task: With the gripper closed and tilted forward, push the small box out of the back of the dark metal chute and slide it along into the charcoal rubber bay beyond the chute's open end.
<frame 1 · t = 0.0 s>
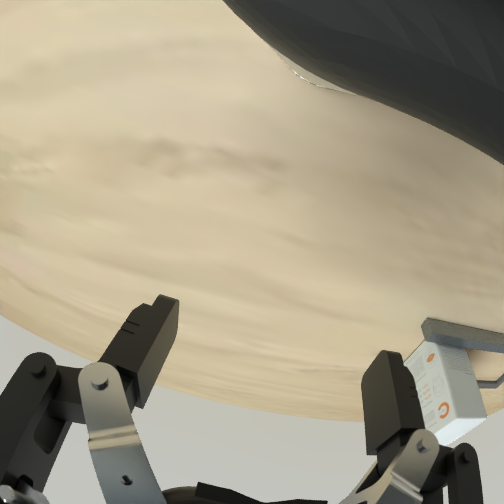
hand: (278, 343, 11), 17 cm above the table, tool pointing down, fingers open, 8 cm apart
small box: (430, 352, 34), on the table
chute: (450, 356, 34), on the table
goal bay: (501, 362, 33), on the table
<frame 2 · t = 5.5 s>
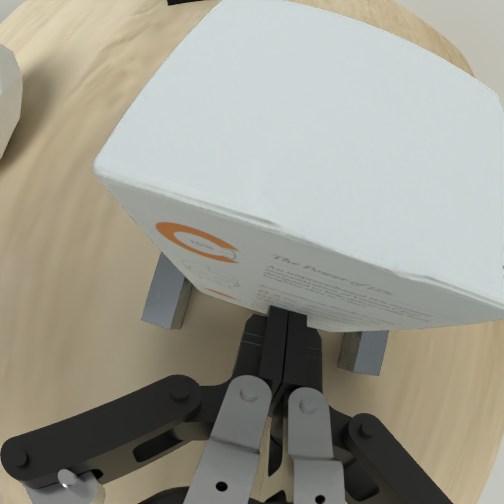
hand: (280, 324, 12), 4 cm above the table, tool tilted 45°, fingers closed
small box: (282, 261, 17), on the table, touching gripper
chute: (295, 201, 18), on the table
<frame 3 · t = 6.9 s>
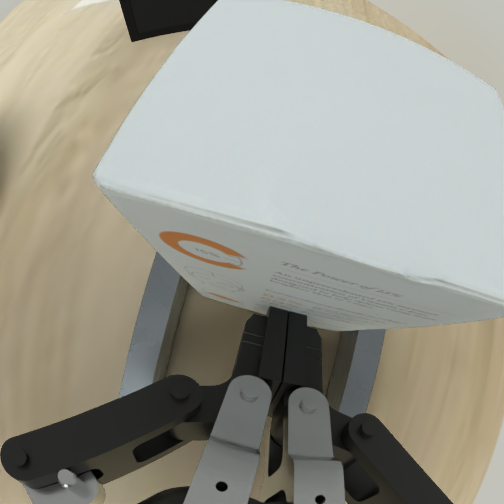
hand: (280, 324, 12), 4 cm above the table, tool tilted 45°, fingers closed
small box: (282, 262, 17), on the table, touching gripper
digital camera: (183, 21, 23), on the table
chute: (260, 332, 16), on the table
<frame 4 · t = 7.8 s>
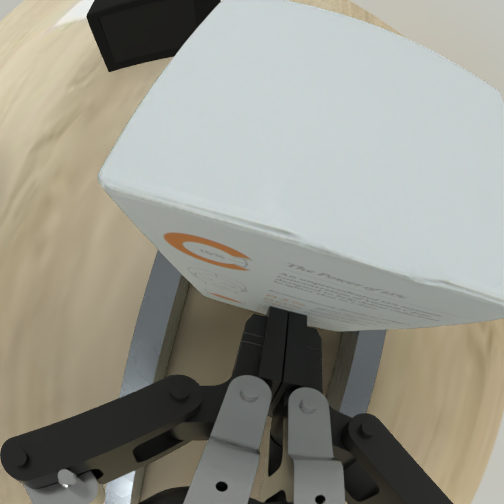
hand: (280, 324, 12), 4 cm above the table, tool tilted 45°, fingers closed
small box: (284, 262, 17), on the table, touching gripper
digital camera: (165, 44, 22), on the table
chute: (240, 412, 15), on the table
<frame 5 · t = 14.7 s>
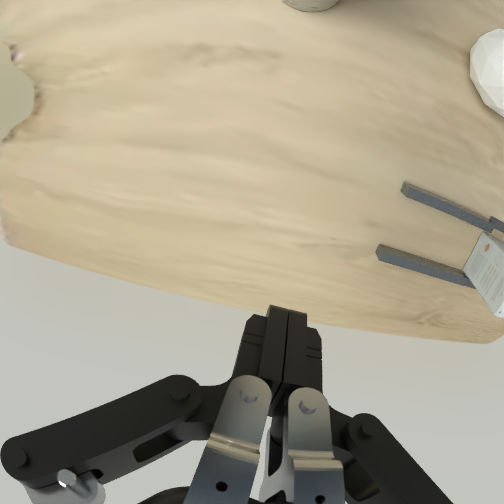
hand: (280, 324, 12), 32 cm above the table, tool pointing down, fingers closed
small box: (482, 254, 41), on the table
geodesic sphere: (487, 75, 27), on the table
chute: (436, 234, 41), on the table
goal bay: (488, 256, 41), on the table
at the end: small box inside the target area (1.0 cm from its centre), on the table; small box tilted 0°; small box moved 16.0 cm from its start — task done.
